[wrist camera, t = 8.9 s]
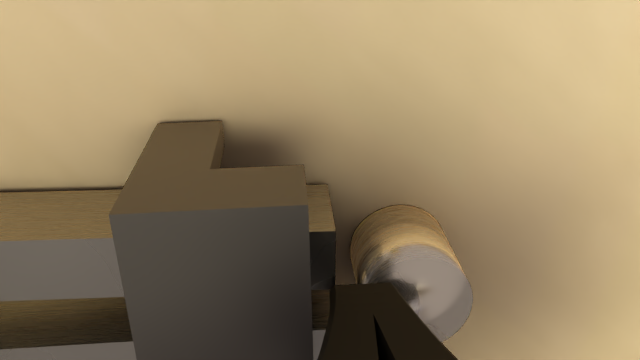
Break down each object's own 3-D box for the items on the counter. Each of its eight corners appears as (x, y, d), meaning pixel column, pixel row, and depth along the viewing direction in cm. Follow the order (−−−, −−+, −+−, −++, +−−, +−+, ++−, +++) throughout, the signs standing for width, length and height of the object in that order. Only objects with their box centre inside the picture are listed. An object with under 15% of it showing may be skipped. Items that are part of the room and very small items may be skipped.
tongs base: (438, 318, 16) (464, 383, 14) (-140, 353, 15) (-209, 427, 13) (447, 202, 15) (477, 254, 12) (-192, 234, 14) (-279, 296, 12)
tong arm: (326, 236, 15) (335, 289, 13) (-191, 252, 14) (-270, 311, 12) (327, 168, 14) (336, 213, 12) (-221, 181, 13) (-310, 231, 11)
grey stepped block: (308, 351, 16) (318, 491, 12) (191, 358, 16) (164, 504, 12) (298, 117, 13) (307, 204, 9) (157, 123, 13) (109, 214, 9)
